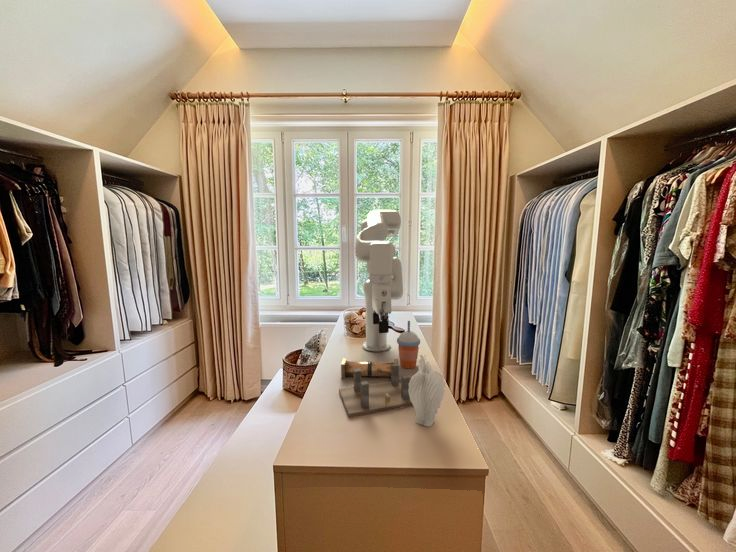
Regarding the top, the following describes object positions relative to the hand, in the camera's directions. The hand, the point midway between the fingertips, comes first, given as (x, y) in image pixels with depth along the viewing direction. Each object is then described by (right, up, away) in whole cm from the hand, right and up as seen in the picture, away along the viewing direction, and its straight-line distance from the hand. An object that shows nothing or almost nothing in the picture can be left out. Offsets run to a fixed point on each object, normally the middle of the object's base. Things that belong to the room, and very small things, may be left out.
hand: (380, 328), depth 102 cm
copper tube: (-4, -19, +6) cm, 20 cm away
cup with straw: (+12, -18, +15) cm, 26 cm away
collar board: (0, -21, -8) cm, 22 cm away
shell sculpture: (+12, -23, -20) cm, 32 cm away
